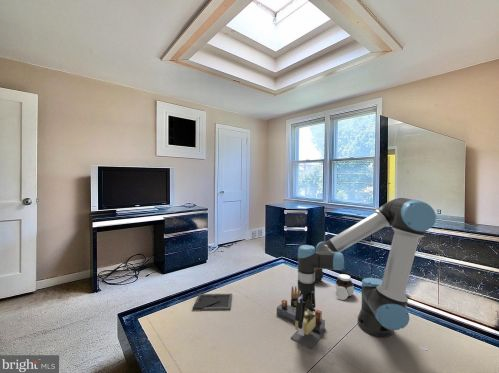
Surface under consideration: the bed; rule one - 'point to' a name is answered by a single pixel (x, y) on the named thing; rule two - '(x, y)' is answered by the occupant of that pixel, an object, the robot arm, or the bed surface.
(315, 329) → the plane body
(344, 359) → the bed surface
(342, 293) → the spread jar
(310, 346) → the felt mat
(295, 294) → the ammunition clip
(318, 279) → the brown rock
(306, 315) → the lever cap
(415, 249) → the robot arm
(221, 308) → the picture frame
